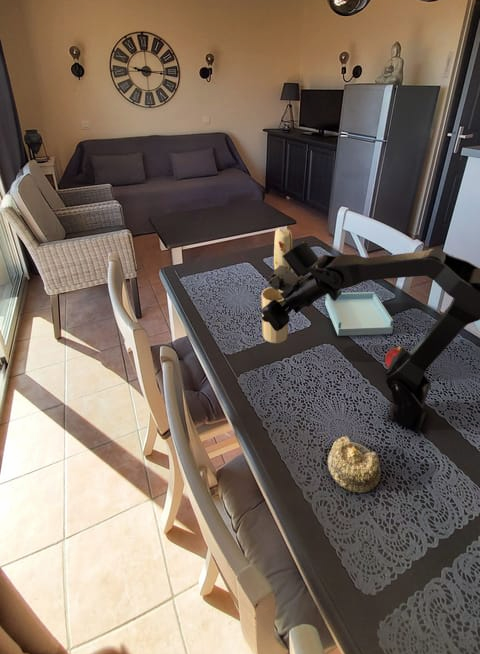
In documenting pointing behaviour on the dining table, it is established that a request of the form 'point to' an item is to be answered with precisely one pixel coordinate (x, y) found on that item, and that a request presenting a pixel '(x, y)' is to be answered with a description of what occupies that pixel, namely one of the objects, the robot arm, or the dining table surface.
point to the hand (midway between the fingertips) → (270, 312)
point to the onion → (391, 355)
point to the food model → (282, 247)
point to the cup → (267, 329)
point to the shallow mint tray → (359, 314)
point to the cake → (353, 466)
